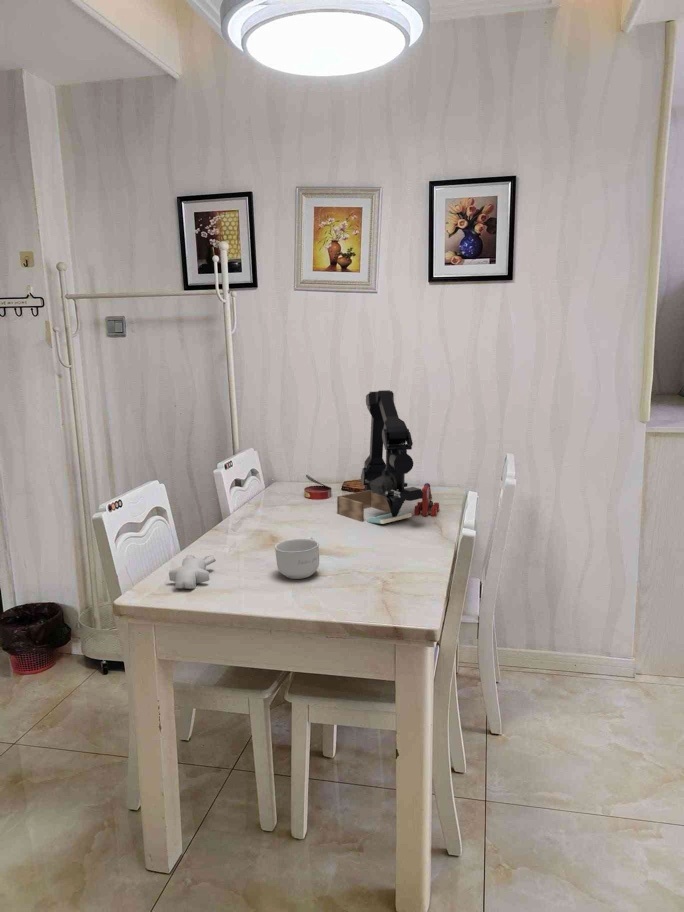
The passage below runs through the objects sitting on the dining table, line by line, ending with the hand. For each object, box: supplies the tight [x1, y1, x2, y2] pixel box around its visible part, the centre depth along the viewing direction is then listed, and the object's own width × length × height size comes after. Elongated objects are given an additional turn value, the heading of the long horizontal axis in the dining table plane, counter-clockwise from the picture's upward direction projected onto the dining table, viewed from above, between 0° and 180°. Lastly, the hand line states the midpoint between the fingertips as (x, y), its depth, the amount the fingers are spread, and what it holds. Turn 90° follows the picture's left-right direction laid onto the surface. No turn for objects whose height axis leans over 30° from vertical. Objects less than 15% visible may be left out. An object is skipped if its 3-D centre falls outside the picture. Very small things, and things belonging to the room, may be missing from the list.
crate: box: [336, 490, 391, 523], centre depth 216 cm, size 12×14×7 cm
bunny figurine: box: [168, 554, 217, 590], centre depth 163 cm, size 10×5×15 cm
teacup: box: [274, 536, 320, 580], centre depth 167 cm, size 14×11×8 cm
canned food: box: [303, 474, 333, 501], centre depth 244 cm, size 11×10×10 cm
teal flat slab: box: [367, 511, 412, 525], centre depth 208 cm, size 1×12×7 cm
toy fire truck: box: [413, 482, 440, 518], centre depth 217 cm, size 7×12×10 cm, turn 165°
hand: (394, 516), depth 206 cm, fingers closed, pressing on teal flat slab
